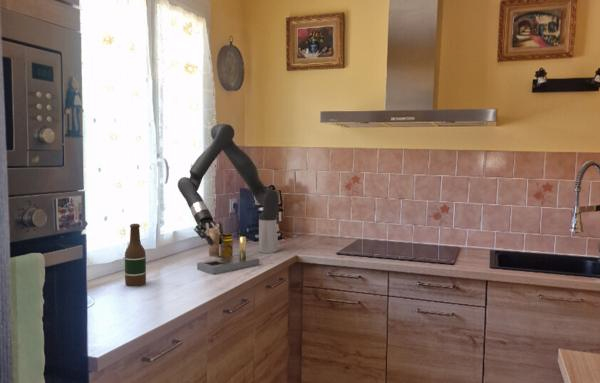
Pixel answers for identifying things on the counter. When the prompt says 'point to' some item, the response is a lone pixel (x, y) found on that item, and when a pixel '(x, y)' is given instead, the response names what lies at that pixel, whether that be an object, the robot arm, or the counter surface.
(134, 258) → the beer bottle
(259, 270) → the counter surface
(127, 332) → the counter surface
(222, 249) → the condiment
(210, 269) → the bolt plate
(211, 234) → the walnut peg
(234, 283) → the counter surface
